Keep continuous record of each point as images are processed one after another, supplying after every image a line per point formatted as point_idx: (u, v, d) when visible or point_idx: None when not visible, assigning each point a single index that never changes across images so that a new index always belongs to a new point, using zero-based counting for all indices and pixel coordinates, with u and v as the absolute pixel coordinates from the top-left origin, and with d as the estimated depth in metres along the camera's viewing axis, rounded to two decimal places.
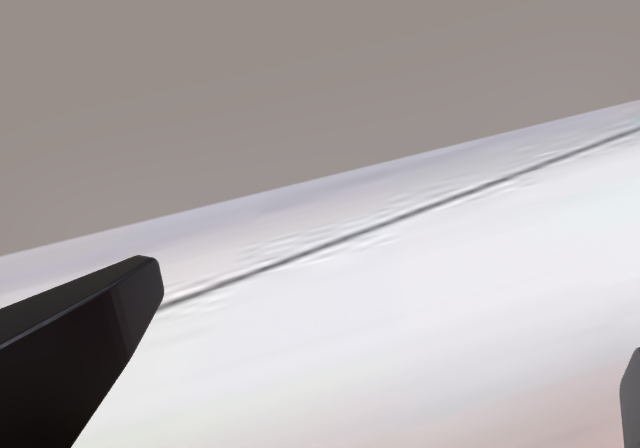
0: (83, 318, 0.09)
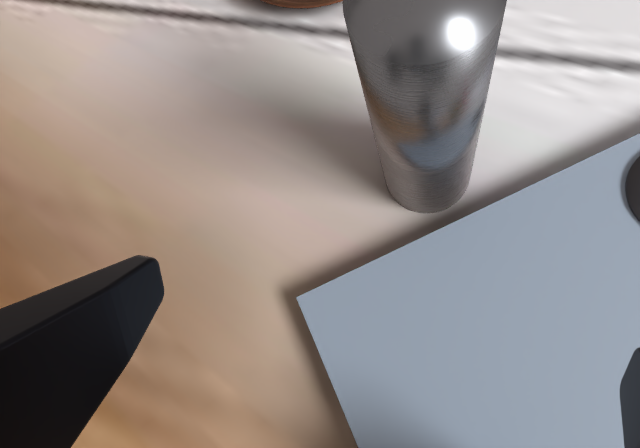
0: (83, 318, 0.09)
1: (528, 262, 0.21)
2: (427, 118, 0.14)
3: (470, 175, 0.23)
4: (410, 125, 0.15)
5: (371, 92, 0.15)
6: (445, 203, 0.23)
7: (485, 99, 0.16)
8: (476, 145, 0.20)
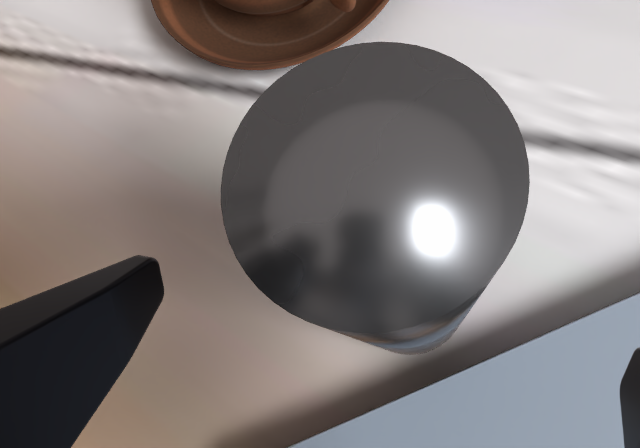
0: (83, 318, 0.09)
1: None
2: (385, 342, 0.09)
3: None
4: None
5: None
6: (430, 349, 0.17)
7: None
8: None
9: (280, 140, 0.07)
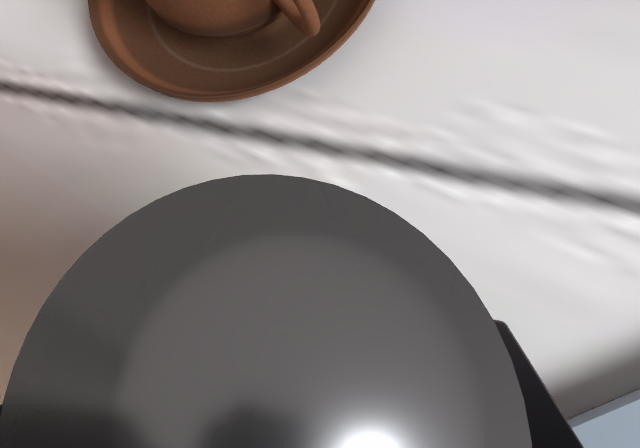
0: None
1: None
2: None
3: None
4: None
5: None
6: None
7: None
8: None
9: (99, 350, 0.04)
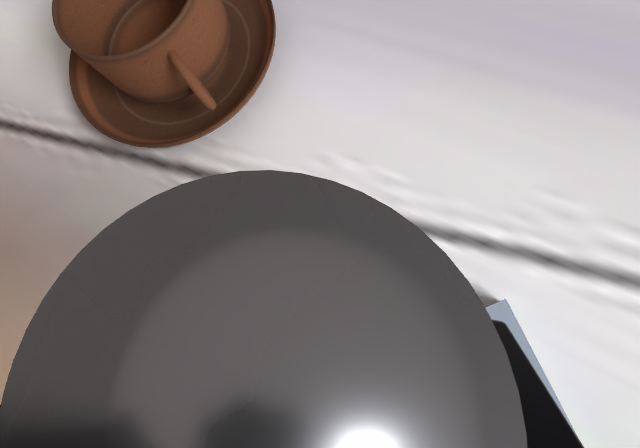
0: None
1: None
2: None
3: None
4: None
5: None
6: None
7: None
8: None
9: (98, 344, 0.04)
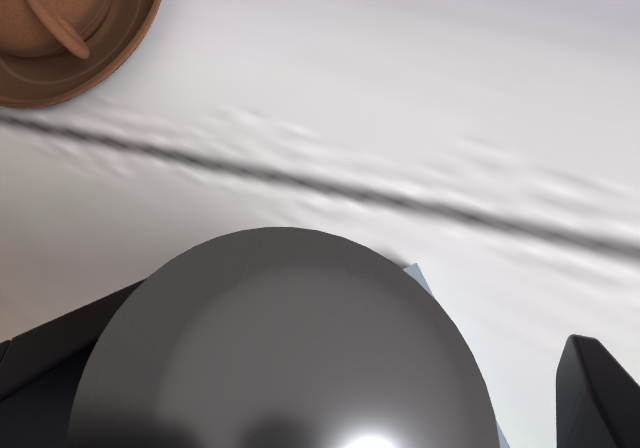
0: None
1: None
2: None
3: None
4: None
5: None
6: None
7: None
8: None
9: (148, 373, 0.05)
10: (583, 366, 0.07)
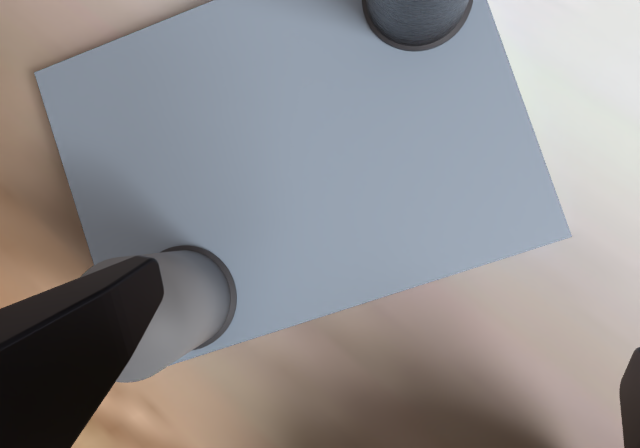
0: (83, 318, 0.09)
1: (258, 56, 0.21)
2: None
3: None
4: None
5: None
6: (433, 34, 0.19)
7: None
8: None
9: None
10: None
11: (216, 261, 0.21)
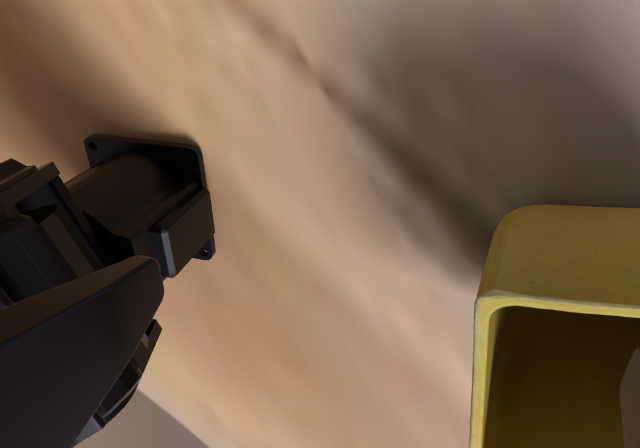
0: (83, 318, 0.09)
1: None
2: None
3: None
4: None
5: None
6: None
7: None
8: None
9: None
10: None
11: None
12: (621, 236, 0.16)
